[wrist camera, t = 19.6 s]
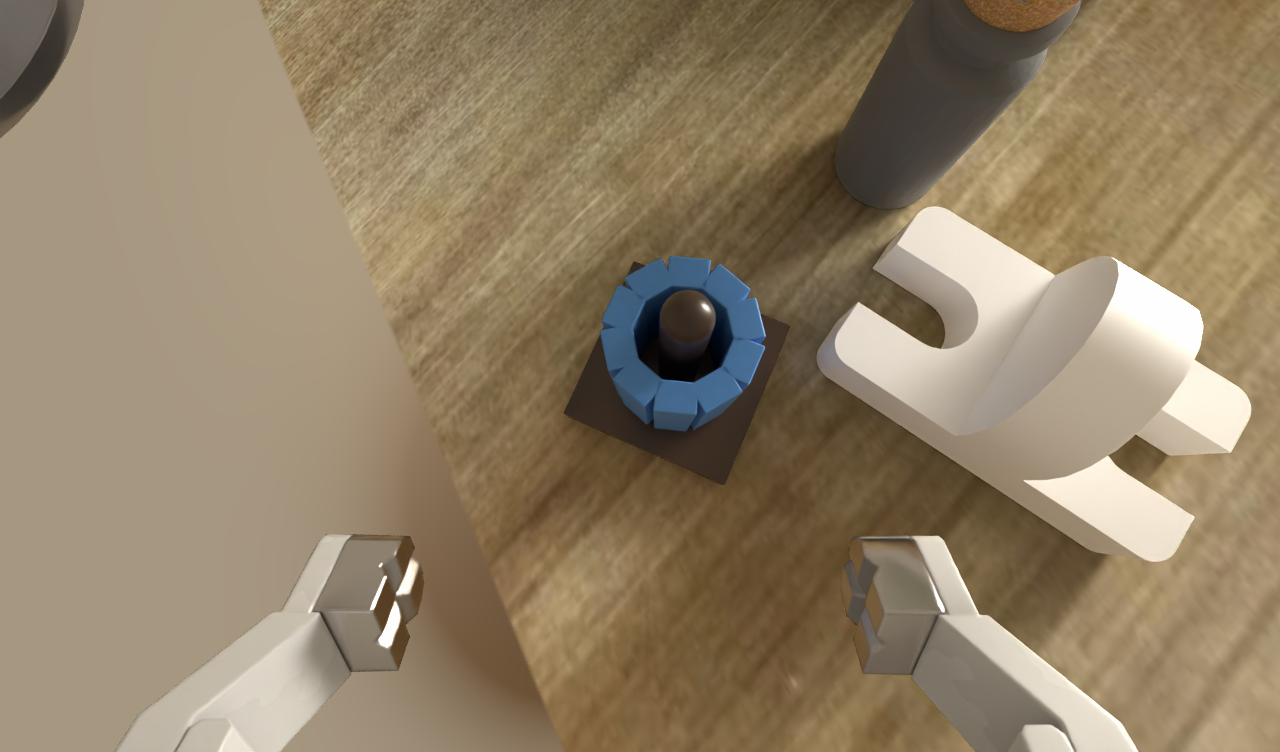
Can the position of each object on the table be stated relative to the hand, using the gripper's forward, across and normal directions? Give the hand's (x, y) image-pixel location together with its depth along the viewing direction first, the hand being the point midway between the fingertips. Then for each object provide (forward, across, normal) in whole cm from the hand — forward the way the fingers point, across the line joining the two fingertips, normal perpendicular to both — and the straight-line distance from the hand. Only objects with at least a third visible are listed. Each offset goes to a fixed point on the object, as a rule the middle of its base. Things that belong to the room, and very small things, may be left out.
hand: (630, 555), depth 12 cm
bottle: (+29, -14, +2) cm, 32 cm away
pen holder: (+19, -2, +9) cm, 22 cm away
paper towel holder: (+20, -2, +10) cm, 23 cm away
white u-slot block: (+20, -19, +11) cm, 30 cm away
